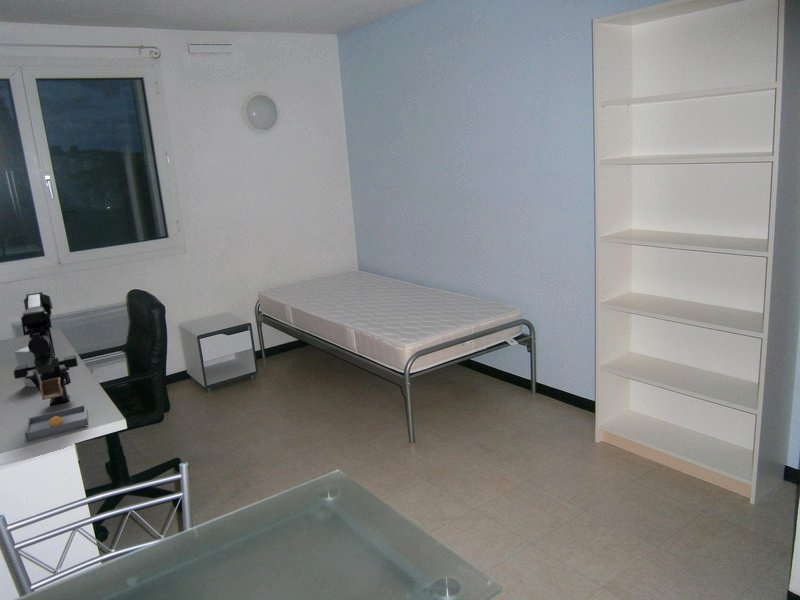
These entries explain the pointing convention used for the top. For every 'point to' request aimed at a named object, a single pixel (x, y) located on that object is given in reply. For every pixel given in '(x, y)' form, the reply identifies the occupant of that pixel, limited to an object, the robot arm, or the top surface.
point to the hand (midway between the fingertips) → (52, 390)
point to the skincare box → (26, 358)
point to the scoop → (51, 388)
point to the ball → (55, 421)
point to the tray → (41, 426)
